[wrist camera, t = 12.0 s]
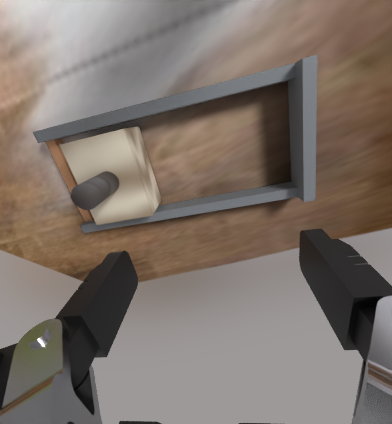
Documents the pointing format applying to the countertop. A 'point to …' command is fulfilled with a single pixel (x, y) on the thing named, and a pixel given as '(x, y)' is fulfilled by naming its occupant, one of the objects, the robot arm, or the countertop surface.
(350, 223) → the countertop surface
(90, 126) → the frame
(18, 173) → the countertop surface
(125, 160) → the beige block
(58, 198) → the countertop surface
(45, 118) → the countertop surface
